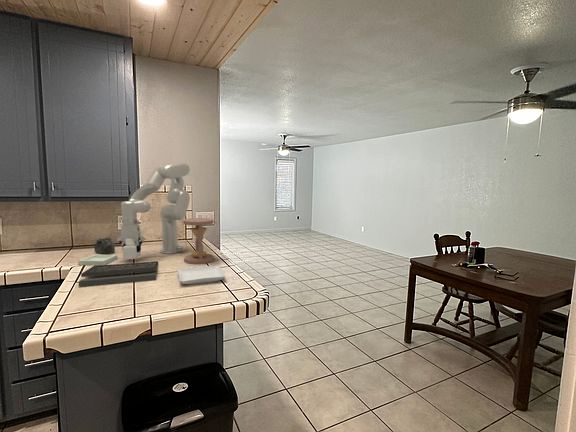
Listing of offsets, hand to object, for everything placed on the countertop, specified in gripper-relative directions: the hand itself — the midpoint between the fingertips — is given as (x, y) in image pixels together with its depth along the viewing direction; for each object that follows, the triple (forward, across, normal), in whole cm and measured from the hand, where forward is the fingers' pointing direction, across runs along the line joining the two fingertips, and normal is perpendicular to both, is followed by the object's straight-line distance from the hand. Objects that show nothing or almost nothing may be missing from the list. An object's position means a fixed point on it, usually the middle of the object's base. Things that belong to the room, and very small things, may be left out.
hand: (131, 251), depth 178 cm
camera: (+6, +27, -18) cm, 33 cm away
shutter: (+6, -8, +24) cm, 26 cm away
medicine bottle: (+4, 0, 0) cm, 4 cm away
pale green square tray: (+5, +18, +4) cm, 19 cm away
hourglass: (+7, -38, -4) cm, 39 cm away
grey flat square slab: (+6, -48, +29) cm, 57 cm away
